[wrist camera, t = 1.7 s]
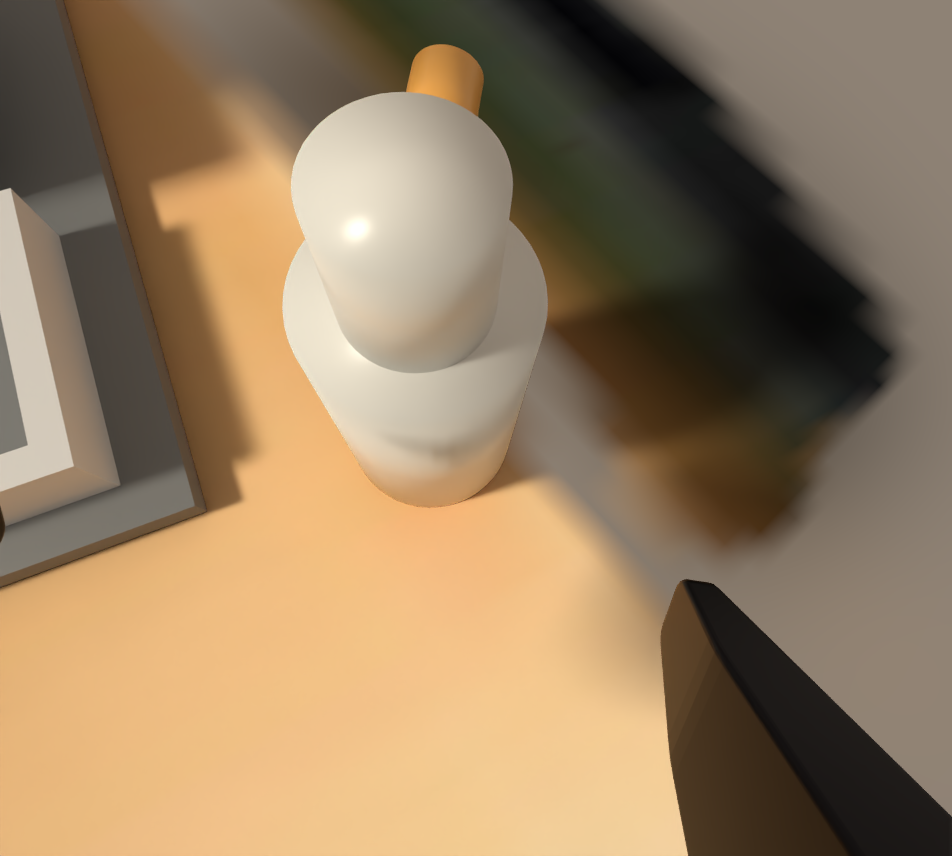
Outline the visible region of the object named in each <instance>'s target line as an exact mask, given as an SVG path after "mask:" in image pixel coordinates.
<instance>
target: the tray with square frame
mask: <svg viewBox="0 0 952 856" xmlns="http://www.w3.org/2000/svg"><path fill="white" fill-rule="evenodd" d="M0 506H1V510H2V513H3V517H4V521H5V533H4V537H3V539H2V541H1V543H0V587H2V586H5V585H8V584H11V583H13V582H16V581H19V580H22V579H24V578H27V577H30V576H32V575H35V574H38V573H41V572H43V571H46V570H49V569H52V568H54V567H57V566H60V565H62V564H65V563H68V562H71V561H73V560H76V559H79V558H82V557H84V556H87V555H90V554H92V553H95V552H98V551H101V550H103V549H106V548H109V547H112V546H114V545H117V544H120V543H123V542H125V541H128V540H131V539H133V538H136V537H139V536H142V535H144V534H147V533H150V532H153V531H155V530H158V529H161V528H163V527H166V526H169V525H172V524H174V523H177V522H180V521H183V520H185V519H188V518H191V517H193V516H196V515H199V514H202V513H204V512H207V509H206V505H205V501H204V498H203V494H202V491H201V487H200V484H199V480H198V477H197V473H196V470H195V466H194V462H193V459H192V455H191V452H190V448H189V445H188V441H187V438H186V434H185V430H184V427H183V423H182V420H181V416H180V413H179V409H178V406H177V402H176V398H175V395H174V391H173V388H172V384H171V381H170V377H169V374H168V370H167V366H166V363H165V359H164V356H163V352H162V349H161V345H160V342H159V338H158V334H157V331H156V327H155V324H154V320H153V317H152V313H151V310H150V306H149V303H148V299H147V295H146V292H145V288H144V285H143V281H142V278H141V274H140V271H139V267H138V263H137V260H136V256H135V253H134V249H133V246H132V242H131V239H130V235H129V231H128V228H127V224H126V221H125V217H124V214H123V210H122V207H121V203H120V199H119V196H118V192H117V189H116V185H115V182H114V178H113V175H112V171H111V168H110V164H109V160H108V157H107V153H106V150H105V146H104V143H103V139H102V136H101V132H100V128H99V125H98V121H97V118H96V114H95V111H94V107H93V104H92V100H91V96H90V93H89V89H88V86H87V82H86V79H85V75H84V72H83V68H82V64H81V61H80V57H79V54H78V50H77V47H76V43H75V40H74V36H73V33H72V29H71V25H70V22H69V18H68V15H67V11H66V8H65V4H64V1H63V0H0Z"/></svg>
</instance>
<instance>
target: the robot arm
mask: <svg viewBox="0 0 952 856" xmlns="http://www.w3.org/2000/svg"><path fill="white" fill-rule="evenodd" d="M4 533H5V521H4V517H3V513H2V510H1V506H0V543H1V541H2V539H3V537H4ZM661 654H662V667H663V680H664V693H665V706H666V719H667V731H668V743H669V753H670V761H671V767H672V773H673V779H674V784H675V789H676V794H677V800H678V805H679V810H680V815H681V821H682V826H683V831H684V836H685V841H686V847H687V852H688V856H952V817H951V815H949V814H948V813H947V812H946V811H945V810H944V809H943V808H942V807H941V806H940V805H939V804H938V803H937V802H936V801H935V800H934V799H933V798H932V797H931V796H930V795H929V794H928V793H927V792H926V791H925V790H924V789H923V788H922V787H921V786H920V785H919V784H918V783H917V782H916V781H915V780H914V779H913V778H912V777H911V776H910V775H909V774H908V773H907V772H906V771H905V770H903V768H902V767H900V765H898V764H897V763H896V762H895V761H894V760H893V759H892V758H891V757H890V756H889V755H888V754H887V753H886V752H885V751H884V750H883V749H882V748H881V747H880V746H879V745H878V744H877V743H876V742H875V741H874V740H873V739H872V738H871V737H870V736H869V735H868V734H867V733H866V732H865V731H864V730H863V729H862V728H861V727H860V726H859V725H858V724H857V723H856V722H855V721H854V720H853V719H852V718H850V717H849V716H848V715H847V714H846V713H845V712H844V711H843V710H842V709H841V708H840V707H839V706H838V705H837V704H836V703H835V702H834V701H833V700H832V699H831V698H830V697H829V696H828V695H827V694H826V693H825V692H824V691H823V690H822V689H821V688H820V687H819V686H818V685H817V684H816V683H815V682H814V681H813V680H812V679H811V678H810V677H809V676H808V675H807V674H806V673H805V672H803V670H801V668H800V667H799V666H797V665H796V664H795V663H794V662H793V661H792V660H791V659H790V658H789V657H788V656H787V655H786V654H785V653H784V652H783V651H782V650H781V649H780V648H779V647H778V646H777V645H776V644H775V643H774V642H773V641H772V640H771V639H770V638H769V637H768V636H767V635H766V634H765V633H764V632H763V631H762V630H761V629H760V628H759V627H757V625H755V623H754V622H753V621H751V620H750V619H749V617H747V616H746V615H745V614H744V613H743V612H742V611H741V610H740V609H739V608H738V607H737V606H736V605H735V604H734V603H733V602H732V601H731V600H730V599H729V598H728V597H727V596H726V595H725V594H724V593H723V592H722V591H721V590H720V589H719V588H718V587H716V586H715V585H714V584H712V583H708V582H701V581H694V580H688V579H685V580H682V581H680V583H679V584H678V585H677V587H676V589H675V592H674V595H673V598H672V600H671V603H670V606H669V609H668V612H667V614H666V617H665V620H664V623H663V626H662V631H661Z"/></svg>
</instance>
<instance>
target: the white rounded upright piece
mask: <svg viewBox="0 0 952 856" xmlns="http://www.w3.org/2000/svg"><path fill="white" fill-rule="evenodd" d="M483 82H484V77H483V73H482V70H481V68H480V66H479V64H478V63H477V61H476V60H475V59H474V58H473V57H472V56H471V55H470V54H468V53H467V52H465V51H464V50H462V49H460V48H457V47H454V46H450V45H443V44H441V45H432V46H429V47H426V48H424V49H423V50H421V51H420V52H419V53H418V54H417V55H416V56H415V58H414V60H413V63H412V67H411V72H410V76H409V81H408V85H407V90H406V92H392V93H384V94H378V95H374V96H369V97H366V98H363V99H360V100H357V101H354V102H352V103H350V104H348V105H346V106H344V107H342V108H340V109H338V110H337V111H335V112H334V113H332V114H331V115H329V116H328V117H327V118H326V119H324V120H323V121H322V122H321V123H320V124H319V125H318V126H317V127H316V128H315V129H314V130H313V131H312V132H311V133H310V135H309V136H308V137H307V139H306V140H305V142H304V143H303V145H302V147H301V149H300V151H299V153H298V155H297V158H296V160H295V163H294V167H293V172H292V177H291V194H292V202H293V205H294V209H295V213H296V216H297V218H298V221H299V223H300V226H301V229H302V231H303V234H304V236H305V240H304V242H303V243H302V245H301V246H300V248H299V249H298V251H297V253H296V255H295V257H294V259H293V261H292V263H291V265H290V268H289V271H288V274H287V277H286V281H285V287H284V292H283V309H282V310H283V319H284V326H285V330H286V334H287V338H288V341H289V344H290V346H291V348H292V351H293V353H294V355H295V357H296V359H297V361H298V362H299V364H300V366H301V367H302V369H303V371H304V372H305V374H306V376H307V377H308V379H309V381H310V382H311V384H312V386H313V387H314V389H315V391H316V393H317V394H318V396H319V398H320V399H321V401H322V403H323V404H324V406H325V408H326V409H327V411H328V413H329V414H330V416H331V418H332V419H333V421H334V423H335V424H336V426H337V428H338V430H339V431H340V433H341V435H342V436H343V438H344V440H345V441H346V443H347V445H348V446H349V448H350V450H351V451H352V453H353V455H354V456H355V458H356V460H357V461H358V463H359V465H360V466H361V468H362V470H363V471H364V473H365V475H366V476H367V477H368V478H369V480H370V481H371V482H372V483H373V484H374V485H375V486H376V487H377V488H378V489H379V490H381V491H382V492H383V493H385V494H386V495H388V496H389V497H391V498H393V499H395V500H397V501H400V502H402V503H405V504H408V505H413V506H417V507H427V508H431V507H443V506H449V505H452V504H456V503H459V502H461V501H463V500H466V499H468V498H470V497H471V496H473V495H475V494H476V493H478V492H479V491H480V490H482V489H483V488H484V487H485V486H486V485H487V484H488V483H489V482H490V481H491V480H492V479H493V478H494V476H495V475H496V473H497V472H498V471H499V469H500V467H501V465H502V463H503V461H504V459H505V456H506V453H507V450H508V447H509V444H510V441H511V437H512V434H513V431H514V428H515V425H516V421H517V418H518V415H519V412H520V408H521V405H522V402H523V399H524V395H525V392H526V389H527V386H528V382H529V379H530V376H531V373H532V369H533V366H534V363H535V360H536V356H537V353H538V350H539V347H540V344H541V340H542V337H543V334H544V330H545V325H546V320H547V308H548V298H547V287H546V282H545V278H544V274H543V270H542V268H541V265H540V263H539V260H538V258H537V256H536V254H535V252H534V250H533V249H532V247H531V245H530V243H529V242H528V241H527V239H526V238H525V237H524V235H523V234H522V233H521V231H520V230H519V229H518V228H517V227H516V226H515V225H514V224H513V223H512V222H511V221H510V220H509V215H510V207H511V200H512V189H513V180H512V171H511V167H510V163H509V159H508V157H507V154H506V152H505V149H504V148H503V146H502V144H501V142H500V141H499V139H498V138H497V136H496V135H495V134H494V133H493V131H492V130H491V129H490V128H489V127H488V126H487V125H486V124H485V123H484V122H483V121H482V120H481V119H480V118H478V117H477V116H478V111H479V105H480V99H481V94H482V88H483Z"/></svg>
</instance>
